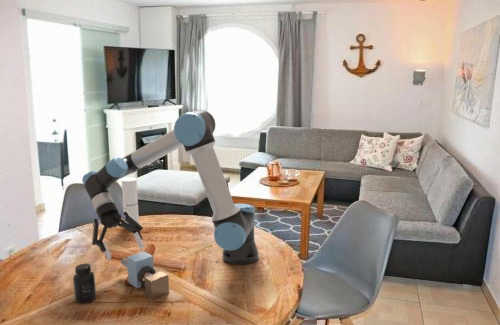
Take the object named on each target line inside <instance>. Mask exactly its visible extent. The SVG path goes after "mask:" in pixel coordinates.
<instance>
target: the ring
mask: <svg viewBox="0 0 500 325" xmlns="http://www.w3.org/2000/svg"><path fill="white" fill-rule="evenodd" d="M148 270H150V273H151V274H152V275H153V274H155V273H156V270H155V269H153V268H151V267H150V266H145V267H142V268H141V270H140V271H139V273H138V281H139V282H141V285H144V286H145V279H143V275H144V273H145V272H146V271H148Z"/></svg>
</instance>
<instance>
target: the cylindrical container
mask: <svg viewBox="0 0 500 325" xmlns="http://www.w3.org/2000/svg"><path fill="white" fill-rule="evenodd" d="M121 188H122V190H121V191H122V207H123V208H122V209H123V213H124V212H127V213H128V215H129V216H130V217H131V218H132V219H133V220H135V221H136V222H137V223H138V224H139V225H140V218H139V217H140V216H139V200H138V198H139V197H138V182H137V178H136V177H126V178H125V177H124V178H121ZM123 220H124V219H123ZM124 221H125V220H124ZM125 222H126V221H125ZM126 223H127V222H126ZM128 224H129V223H128Z"/></svg>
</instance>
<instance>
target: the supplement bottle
mask: <svg viewBox="0 0 500 325" xmlns="http://www.w3.org/2000/svg"><path fill="white" fill-rule="evenodd" d="M74 268H75V270H74V272H75V274H74V275H73V277H72V281H73V291H74V293H73V294H74V300H75V302H76V303H78V304H87V303H90V302H93V301H95V299H96V297H97V289H96V280H95V276H96V275H95V273H94V272H93V271H92V269H91V264H89V263H80V264H77V265H76V266H75V267H74Z"/></svg>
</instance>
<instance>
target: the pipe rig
mask: <svg viewBox="0 0 500 325" xmlns="http://www.w3.org/2000/svg"><path fill="white" fill-rule="evenodd" d="M120 265H121V266H123V267H125V268H127V269H128V264H127V258H121V260H120ZM143 280H145V285H144V290H145V292H144V294H145V297H146V298H147V299H149V300H151V301H154V300H156V299H159V298H161V297H163V296H165V295H168V294H170V282H169V280H170V279H169V274H168V273H166V272H164V271H162V270H161V271H158V272H155V274H153V275H152V274H151V273H150V272H148V271H146V272H145V273H144V275H143Z"/></svg>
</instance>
